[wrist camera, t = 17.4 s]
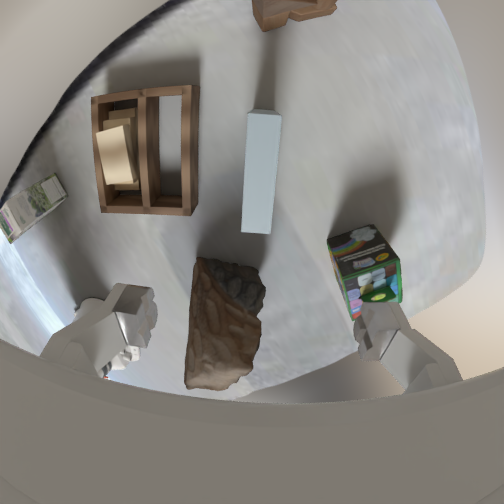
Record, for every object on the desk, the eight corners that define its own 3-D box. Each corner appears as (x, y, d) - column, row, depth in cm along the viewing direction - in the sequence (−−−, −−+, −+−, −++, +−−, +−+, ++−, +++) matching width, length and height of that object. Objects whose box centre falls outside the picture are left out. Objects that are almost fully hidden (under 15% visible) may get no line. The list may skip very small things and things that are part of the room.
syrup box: (41, 186, 41) (-7, 219, 28) (56, 171, 39) (4, 202, 27) (54, 209, 43) (9, 246, 31) (69, 195, 42) (21, 232, 30)
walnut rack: (198, 203, 43) (191, 216, 38) (115, 200, 43) (101, 212, 38) (199, 86, 33) (191, 85, 29) (107, 95, 33) (91, 97, 29)
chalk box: (336, 279, 50) (355, 338, 37) (324, 238, 45) (346, 296, 33) (381, 263, 48) (411, 318, 35) (374, 222, 43) (411, 272, 31)
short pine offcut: (138, 176, 36) (132, 180, 35) (112, 180, 37) (106, 184, 35) (128, 123, 32) (122, 125, 31) (102, 130, 33) (95, 133, 31)
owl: (266, 267, 49) (268, 360, 32) (253, 316, 55) (248, 403, 38) (196, 254, 48) (165, 342, 31) (192, 305, 54) (169, 389, 37)
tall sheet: (267, 188, 41) (270, 234, 28) (248, 186, 41) (241, 231, 28) (274, 110, 35) (281, 115, 22) (253, 108, 35) (248, 113, 22)
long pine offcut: (145, 184, 42) (139, 189, 40) (121, 185, 42) (114, 190, 40) (141, 107, 35) (134, 108, 33) (116, 110, 35) (108, 111, 33)
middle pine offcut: (138, 179, 39) (133, 183, 37) (113, 180, 39) (107, 184, 37) (135, 116, 33) (129, 117, 32) (109, 119, 33) (103, 121, 32)
